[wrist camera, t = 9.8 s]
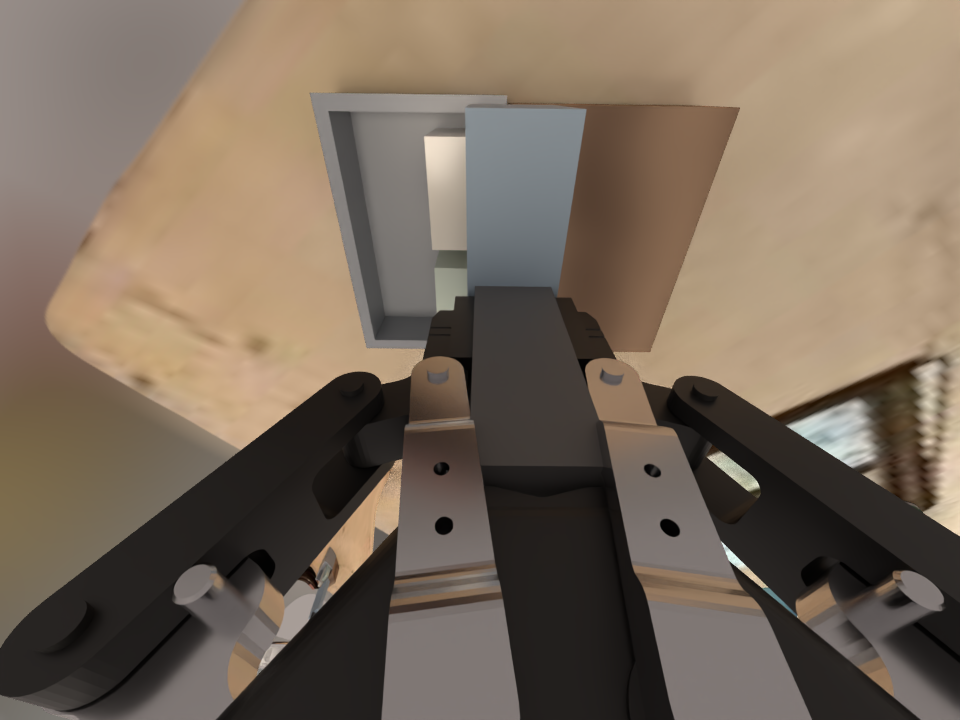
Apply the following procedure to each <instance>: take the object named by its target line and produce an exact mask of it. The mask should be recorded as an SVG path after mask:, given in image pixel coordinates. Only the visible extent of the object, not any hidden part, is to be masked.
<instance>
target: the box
mask: <svg viewBox="0 0 960 720" xmlns="http://www.w3.org/2000/svg"><path fill="white" fill-rule="evenodd" d="M310 96H311V101H312V105H313V110H314V114H315V119H316V123H317V128H318V132H319V137H320V141H321V146H322V150H323V155H324V159H325V164H326V168H327V173H328V177H329V181H330V186H331V190H332V195H333V199H334V204H335V208H336V213H337V217H338V222H339V226H340V231H341V235H342V240H343V244H344V249H345V253H346V258H347V262H348V267H349V271H350V276H351V280H352V284H353V289H354V293H355V298H356V302H357V307H358V311H359V316H360V320H361V325H362V329H363V334H364V338H365V343H366V347H367V348H408V349H425V348H426V343H427V339H428V336H429V330H430V325H431V321H432V318H433V317H434V316H435V315H436V314H437V308H436V290H435V272H434V267H435V264H436V260H437V257H438V253H439V250H432V240H431V226H430V212H429V198H428V184H427V170H426V157H425V143H424V136H425V135H427V134H428V133H430V132H431V131H433V130H434V129H436V128H464V129H465V107H467V106H468V105H470V104H507V95H445V94H367V93H310Z"/></svg>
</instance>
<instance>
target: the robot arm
mask: <svg viewBox="0 0 960 720" xmlns="http://www.w3.org/2000/svg"><path fill="white" fill-rule="evenodd" d="M555 299H556V302H557V304H558V307H559V310H560V313H561V315H562V318H563V321H564V324H565V326H566V329H567V332H568V335H569V337H570V340H571V343H572V346H573V348H574V351H575V354H576V357H577V360H578V362H579V365H580V368H581V371H582V373H583V376H584V379H585V382H586V384H587V387H588V390H589V393H590V395H591V398H592V401H593V404H594V406H595V409H596V412H597V415H598V417H599V421H598V422H597V423H596V428H597V434H598V440H599V445H600V451H601V457H602V462H603V469H602V471H601V474H602V476H603V479H604V483H605V487H586V488H581V489H577V490H573V491H569V492H565V493H561V494H557V495H553V496H549V497H536V496H532V495H527V494H523V493H519V492H515V491H511V490H507V489H503V488H499V487H495V486H484V485H483V479H482V472H481V465H480V459H479V452H478V445H477V439H476V432H475V425H474V421H473V419H470V412H471V384H472V356H473V328H474V300H475V296H455V303H454V310H440V311H439V312H438V313H437V314H436V315H435V316H434V317H433V318H432V321H431V325H430V330H429V336H428V339H427V343H426V348H425V352H424V357H423V360H422V361H420V362H419V363H417V364H416V365H415V366H414V368H413V370H412V373H411V376H410V377H408V378H406V379H403V380H400V381H396V382H391V383H386V384H381V382H380V380H379V378H378V377H377V376H375V375H373V374H371V373H368V372H351V373H347V374H344V375H341V376H339V377H337V378H335V379H334V380H332V381H331V382H330V383H328V384H327V385H326V386H324V387H323V388H322V389H320V390H319V391H318V392H317V393H315V394H314V395H313V396H311V397H310V398H309V399H307V400H306V401H305V402H303V403H302V404H301V405H300V406H298V407H297V408H296V409H294V410H293V411H292V412H290V413H289V414H288V415H286V416H285V417H284V418H283V419H281V420H280V421H279V422H277V423H276V424H275V425H273V426H272V427H271V428H269V429H268V430H267V431H266V432H264V433H263V434H262V435H260V436H259V437H258V438H256V439H255V440H254V441H252V442H251V443H250V444H249V445H247V446H246V447H245V448H243V449H242V450H241V451H240V452H238V453H237V454H235V455H234V456H233V457H232V458H230V459H229V460H228V461H227V462H225V463H224V464H223V465H221V466H220V467H218V468H217V469H216V470H215V471H213V472H212V473H211V474H209V475H208V476H207V477H205V478H204V479H203V480H201V481H200V482H199V483H198V484H196V485H195V486H194V487H192V488H191V489H190V490H189V491H187V492H186V493H184V494H183V495H182V496H181V497H179V498H178V499H177V500H175V501H174V502H173V503H172V504H170V505H169V506H168V507H166V508H165V509H164V510H162V511H161V512H160V513H158V514H157V515H156V516H155V517H153V518H152V519H151V520H149V521H148V522H147V523H145V524H144V525H143V526H141V527H140V528H139V529H138V530H136V531H135V532H134V533H132V534H131V535H130V536H128V537H127V538H126V539H124V540H123V541H122V542H120V543H119V544H118V545H117V546H115V547H114V548H113V549H111V550H110V551H109V552H107V553H106V554H105V555H103V556H102V557H101V558H100V559H98V560H97V561H96V562H94V563H93V564H92V565H90V566H89V567H88V568H86V569H85V570H84V571H83V572H81V573H80V574H79V575H78V576H76V577H75V578H74V579H72V580H71V581H69V582H68V583H67V584H66V585H64V586H63V587H62V588H60V589H59V590H58V591H56V592H55V593H54V594H52V595H51V596H50V597H49V598H47V599H46V600H45V601H44V602H42V603H41V604H40V605H39V606H37V607H36V608H35V609H34V610H32V611H31V612H30V613H29V614H28V615H27V616H26V617H25V618H24V619H23V620H22V621H21V622H20V623H19V624H18V625H17V626H16V628H15V629H14V630H13V631H12V633H11V634H10V635H9V636H8V638H7V639H6V640H5V642H4V643H3V645H2V647H1V648H0V695H2V696H6V697H9V698H13V699H16V700H20V701H23V702H27V703H30V704H34V705H37V706H41V707H42V708H43V710H45V711H46V712H48V713H49V714H53V715H57V716H60V717H64V718H68V719H71V720H960V536H958V535H956V534H955V533H953V532H952V531H950V530H949V529H947V528H945V527H944V526H942V525H941V524H939V523H938V522H936V521H934V520H933V519H931V518H930V517H928V516H927V515H925V514H923V513H922V512H920V511H919V510H917V509H916V508H914V507H912V506H911V505H909V504H908V503H906V502H905V501H903V500H901V499H900V498H898V497H897V496H895V495H894V494H892V493H890V492H889V491H887V490H886V489H884V488H883V487H881V486H879V485H878V484H876V483H875V482H873V481H872V480H870V479H868V478H867V477H865V476H864V475H862V474H860V473H859V472H857V471H856V470H854V469H853V468H851V467H849V466H848V465H846V464H845V463H843V462H842V461H840V460H838V459H837V458H835V457H834V456H832V455H831V454H829V453H827V452H826V451H824V450H823V449H821V448H820V447H818V446H816V445H815V444H813V443H812V442H810V441H809V440H807V439H805V438H804V437H802V436H801V435H799V434H798V433H796V432H794V431H793V430H791V429H790V428H788V427H787V426H785V425H783V424H782V423H780V422H779V421H777V420H775V419H774V418H772V417H771V416H769V415H768V414H766V413H764V412H763V411H761V410H760V409H758V408H757V407H755V406H753V405H752V404H750V403H749V402H747V401H746V400H744V399H742V398H741V397H739V396H738V395H736V394H735V393H733V392H731V391H730V390H728V389H727V388H725V387H724V386H722V385H720V384H718V383H717V382H714V381H712V380H709V379H706V378H703V377H698V376H684V377H681V378H679V379H677V380H676V381H675V383H674V385H673V387H672V389H670V388H666V387H661V386H657V385H652V384H648V383H645V382H642V381H641V380H640V377H639V375H638V373H637V372H636V370H635V369H634V368H632V367H631V366H630V365H628V364H626V363H624V362H622V361H619V360H617V359H616V357H615V355H614V353H613V352H612V350H611V348H610V346H609V344H608V342H607V340H606V338H604V337H605V336H604V334H603V332H602V331H601V328H600V326H599V324H598V322H597V320H596V319H595V318H593V317H592V316H591V315H589V314H588V313H587V312H578V311H577V309H576V307H575V305H574V302H573V300H572V298H570V297H555ZM712 445H714V446H715V447H716V448H718V449H719V450H720V451H721V452H723V453H724V454H725V455H727V456H728V457H729V458H730V459H732V460H733V461H734V462H736V463H737V464H738V465H739V466H741V467H742V468H743V469H745V470H746V471H747V472H748V473H750V474H751V475H752V476H753V477H754V478H755V479H756V480H757V482H758V484H759V486H760V489H761V495H760V497H759V498H756V497H755V496H753V495H752V494H751V493H749V492H748V491H747V490H746V489H745V488H743V487H742V486H741V485H740V484H738V483H737V482H736V481H735V480H734V479H732V478H731V477H730V476H729V475H727V474H726V473H725V472H724V471H723V470H721V469H720V468H719V467H718V466H716V465H715V464H714V463H713V462H712V461H710V460H709V459H708V458H707V457H705V456H706V454H707V453H708V451H709V449H710V448H711V446H712ZM400 459H402V475H401V491H400V507H399V523H398V527H397V528H396V529H395V530H394V531H393V532H392V533H391V534H390V535H389V536H388V537H387V538H386V539H385V540H384V541H383V542H382V544H381V545H380V546H379V547H378V548H377V549H376V550H375V551H374V552H373V553H372V554H371V555H370V556H369V557H368V558H367V559H366V561H365V562H364V563H363V564H362V565H361V566H360V567H359V568H358V569H357V570H356V571H355V572H354V573H353V574H352V575H351V576H350V578H349V579H348V580H347V581H346V582H345V583H344V584H343V585H342V586H341V587H340V588H339V589H338V590H337V591H336V592H335V593H334V595H333V596H332V597H331V598H330V599H329V600H328V601H327V602H326V603H325V604H324V605H323V606H322V607H321V608H320V609H319V611H318V612H317V613H316V614H315V615H314V616H313V617H312V618H311V619H310V620H309V621H308V622H307V623H306V624H305V625H304V626H303V628H302V629H301V630H300V631H299V632H298V633H297V634H296V635H295V636H294V637H293V638H292V639H291V640H290V641H289V642H288V643H287V645H286V646H285V647H284V648H283V649H282V650H281V651H280V652H279V653H278V654H277V655H276V656H275V657H274V658H273V659H272V660H271V661H270V663H269V664H268V665H267V666H266V667H265V668H264V669H263V670H262V671H261V672H260V673H259V674H258V675H257V671H258V668H259V665H260V663H261V660H262V658H263V656H264V654H265V652H266V651H267V650H268V649H269V647H270V646H271V644H272V643H273V641H274V638H275V637H276V635H277V633H278V631H279V629H280V626H281V624H282V621H283V616H284V608H285V606H284V599H283V597H284V596H285V594H286V593H287V592H288V591H289V590H290V588H291V587H292V586H293V585H294V584H295V582H296V581H297V580H298V579H299V578H300V577H301V575H302V574H303V573H304V572H305V571H306V569H307V568H308V567H309V566H310V565H311V563H312V562H313V561H314V560H315V559H316V557H317V556H318V555H319V554H320V553H321V551H322V550H323V549H324V548H325V547H326V545H327V544H328V543H329V542H330V541H331V539H332V538H333V537H334V536H335V535H336V533H337V532H338V531H339V530H340V529H341V528H342V526H343V525H344V524H345V523H346V522H347V520H348V519H349V518H350V517H351V516H352V514H353V513H354V512H355V511H356V510H357V508H358V507H359V506H360V505H361V504H362V502H363V501H364V500H365V499H366V498H367V496H368V495H369V494H370V493H371V492H372V490H373V489H374V488H375V487H376V486H377V484H378V483H379V482H380V481H381V480H382V479H383V477H384V476H385V475H386V474H387V473H388V471H389V470H390V469H391V468H392V466H393V465H394V463H395V461H396V460H400ZM720 540H721V541H722V542H723V543H724V544H725V545H726V546H727V547H728V548H729V549H730V550H731V551H732V552H733V553H734V554H735V555H736V556H737V557H738V558H739V559H740V560H741V561H742V562H743V563H744V564H745V565H746V566H747V567H748V568H749V569H750V570H751V571H752V572H753V573H754V574H755V575H756V576H757V577H758V578H759V579H760V580H762V581H763V582H764V583H765V584H766V585H767V586H768V587H769V588H770V589H771V590H772V591H773V592H774V593H775V594H776V595H777V596H778V597H779V598H780V599H781V600H782V601H783V602H784V603H785V604H786V605H787V606H788V607H789V608H790V609H791V610H792V611H793V612H794V613H795V614H796V615H797V616H798V618H799V619H798V618H797V617H796V616H795V615H794V614H792V613H791V612H790V611H789V610H788V609H786V608H785V607H784V606H783V605H782V604H780V603H779V602H778V601H777V600H776V599H774V598H773V597H772V596H771V595H769V594H768V593H767V592H766V591H765V590H763V589H762V588H761V587H760V586H759V585H757V584H756V583H755V582H754V581H753V580H751V579H750V578H749V577H748V576H747V575H745V574H744V573H743V572H742V571H740V570H739V569H738V568H737V567H736V566H734V565H733V564H732V563H731V562H730V561H729V560H728V558H727V555H726V553H725V550H724V548H723V545H722V543H721V541H720ZM256 675H257V676H256Z"/></svg>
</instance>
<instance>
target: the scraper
mask: <svg viewBox="0 0 960 720" xmlns="http://www.w3.org/2000/svg"><path fill="white" fill-rule="evenodd" d="M586 110H587V109H581V108H573V107H566V106H558V105H520V104H470V105H468V106H467V107H465V137H466V217H467V296H475V300H474V328H473V356H472V384H471V412H470V419H473V421H474V425H475V432H476V439H477V445H478V452H479V459H480V465H481V472H482V479H483V485H484V486H495V487H499V488H503V489H507V490H511V491H515V492H519V493H523V494H527V495H532V496H536V497H549V496H553V495H557V494H561V493H565V492H569V491H573V490H577V489H581V488H586V487H605V483H604V479H603V476H602V474H601V471H602V469H603V462H602V457H601V451H600V445H599V440H598V434H597V428H596V423H597V422H598V421H599V417H598V415H597V412H596V409H595V406H594V404H593V401H592V398H591V395H590V393H589V390H588V387H587V384H586V382H585V379H584V376H583V373H582V371H581V368H580V365H579V362H578V360H577V357H576V354H575V351H574V348H573V346H572V343H571V340H570V337H569V335H568V332H567V329H566V326H565V324H564V321H563V318H562V315H561V313H560V310H559V307H558V304H557V302H556V299H555V297H557V295H558V288H559V282H560V276H561V269H562V263H563V256H564V250H565V244H566V237H567V231H568V225H569V218H570V212H571V205H572V199H573V193H574V186H575V180H576V173H577V167H578V161H579V154H580V148H581V142H582V135H583V129H584V122H585V116H586Z"/></svg>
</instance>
